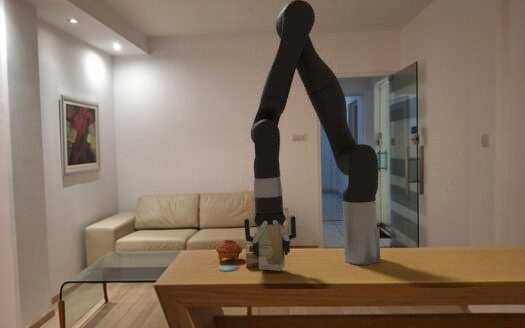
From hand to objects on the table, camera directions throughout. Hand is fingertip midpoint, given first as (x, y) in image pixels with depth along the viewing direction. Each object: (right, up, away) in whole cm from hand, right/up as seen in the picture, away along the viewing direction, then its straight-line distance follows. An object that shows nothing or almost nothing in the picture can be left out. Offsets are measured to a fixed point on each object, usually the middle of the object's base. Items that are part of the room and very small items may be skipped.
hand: (271, 255), depth 104 cm
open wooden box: (-3, -4, +9) cm, 11 cm away
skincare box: (0, -4, 0) cm, 4 cm away
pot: (-13, -5, +13) cm, 19 cm away
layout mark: (-12, -5, +5) cm, 14 cm away
